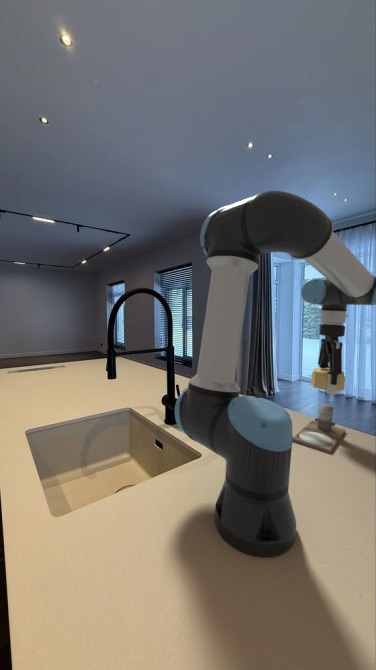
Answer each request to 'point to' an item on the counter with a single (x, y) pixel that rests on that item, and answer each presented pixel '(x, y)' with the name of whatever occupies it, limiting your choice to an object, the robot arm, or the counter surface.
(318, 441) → the post board
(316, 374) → the cap
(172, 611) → the counter surface
